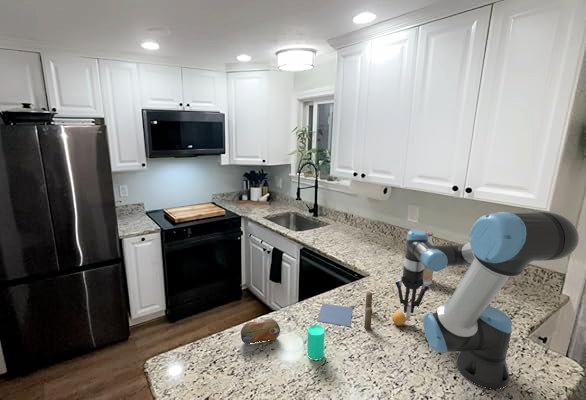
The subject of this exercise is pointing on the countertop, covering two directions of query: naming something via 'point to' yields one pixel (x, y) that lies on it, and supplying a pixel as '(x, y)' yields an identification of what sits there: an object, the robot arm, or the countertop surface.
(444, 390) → the countertop surface
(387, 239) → the countertop surface
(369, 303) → the post far
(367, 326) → the post near
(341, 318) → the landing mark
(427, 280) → the fruit juice
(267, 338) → the tin
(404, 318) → the ball
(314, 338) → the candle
